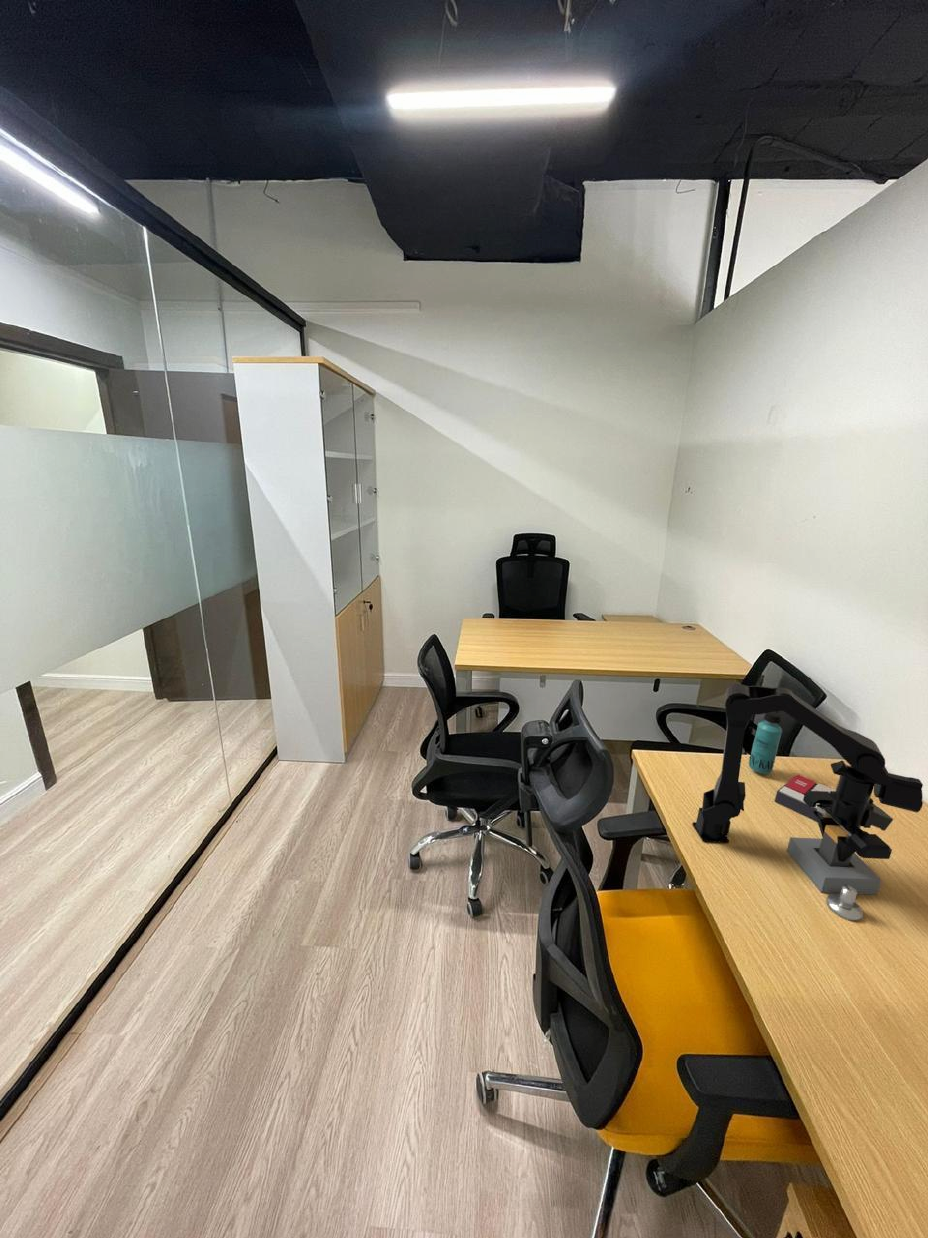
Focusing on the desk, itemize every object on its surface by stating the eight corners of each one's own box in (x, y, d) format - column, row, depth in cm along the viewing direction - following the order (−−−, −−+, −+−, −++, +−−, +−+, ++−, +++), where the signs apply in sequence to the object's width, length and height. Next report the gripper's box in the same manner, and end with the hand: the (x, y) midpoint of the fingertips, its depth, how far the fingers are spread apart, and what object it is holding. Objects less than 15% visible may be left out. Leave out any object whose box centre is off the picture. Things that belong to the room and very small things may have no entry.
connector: (829, 867, 107) (838, 837, 105) (817, 854, 111) (826, 825, 109) (847, 868, 107) (857, 838, 105) (835, 854, 111) (843, 825, 109)
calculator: (841, 791, 134) (824, 810, 125) (837, 804, 135) (819, 824, 126) (796, 772, 142) (777, 788, 133) (793, 785, 143) (773, 802, 134)
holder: (820, 892, 104) (825, 877, 103) (786, 851, 116) (790, 837, 115) (876, 894, 104) (881, 879, 103) (836, 853, 116) (841, 839, 115)
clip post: (839, 920, 98) (845, 901, 96) (819, 896, 103) (825, 877, 102) (869, 922, 98) (876, 902, 96) (847, 897, 103) (853, 878, 102)
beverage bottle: (749, 763, 152) (762, 706, 146) (773, 772, 148) (787, 713, 142) (744, 772, 147) (758, 713, 141) (770, 781, 143) (784, 721, 137)
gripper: (929, 826, 95) (906, 889, 100) (857, 770, 113) (840, 826, 118) (872, 823, 95) (851, 887, 100) (809, 769, 113) (794, 824, 118)
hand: (834, 853), depth 109 cm, fingers closed on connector, 4 cm apart
